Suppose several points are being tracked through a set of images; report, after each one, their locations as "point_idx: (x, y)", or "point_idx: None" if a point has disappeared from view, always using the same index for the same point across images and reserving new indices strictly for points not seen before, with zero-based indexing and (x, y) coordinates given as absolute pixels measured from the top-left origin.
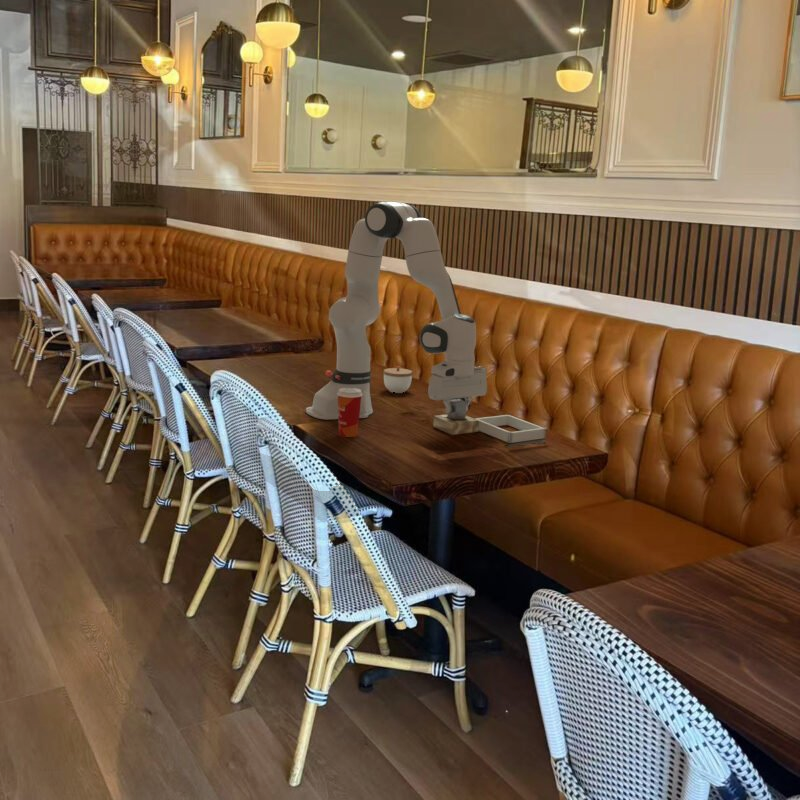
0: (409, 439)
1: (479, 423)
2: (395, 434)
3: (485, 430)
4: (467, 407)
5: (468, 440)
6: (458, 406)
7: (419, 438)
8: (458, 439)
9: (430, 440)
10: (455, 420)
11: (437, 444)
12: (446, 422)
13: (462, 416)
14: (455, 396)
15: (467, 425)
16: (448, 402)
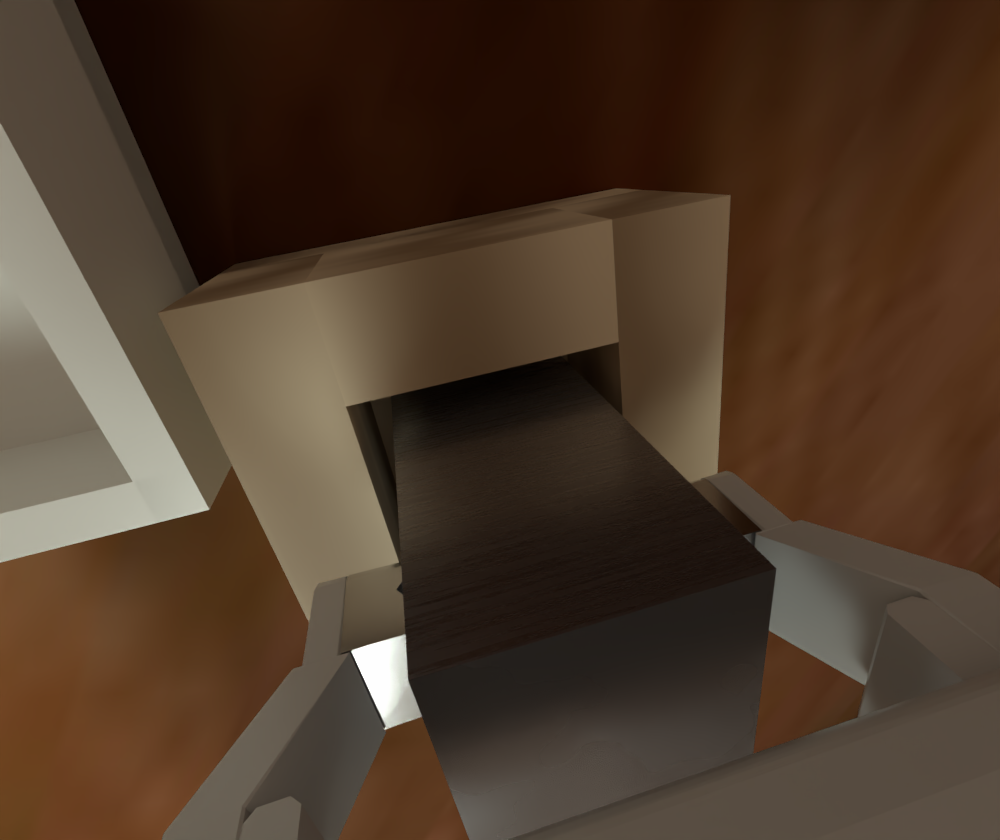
0: (948, 283)
1: (150, 353)
2: (931, 434)
3: (96, 164)
4: (325, 624)
5: (433, 95)
6: (634, 525)
7: (861, 297)
8: (536, 175)
9: (822, 209)
10: (574, 384)
11: (860, 27)
12: (710, 350)
13: (459, 437)
14: (978, 766)
15: (417, 250)
16: (936, 584)
